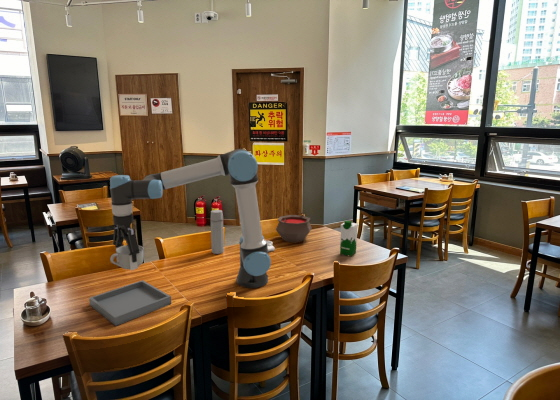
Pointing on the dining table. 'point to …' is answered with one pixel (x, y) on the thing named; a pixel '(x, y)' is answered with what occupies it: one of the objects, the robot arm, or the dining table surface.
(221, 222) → the water bottle
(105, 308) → the tray
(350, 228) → the milk carton
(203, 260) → the dining table surface
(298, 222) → the cooking pot
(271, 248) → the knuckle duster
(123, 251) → the teacup
